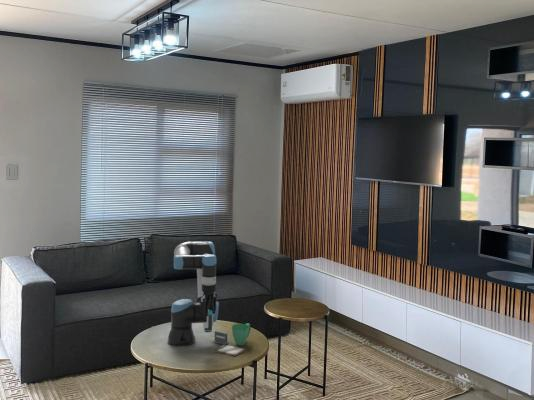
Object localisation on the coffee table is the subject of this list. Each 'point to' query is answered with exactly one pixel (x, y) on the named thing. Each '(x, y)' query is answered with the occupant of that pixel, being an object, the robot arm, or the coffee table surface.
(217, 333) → the gray bookend
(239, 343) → the mug
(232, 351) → the clipboard
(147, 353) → the coffee table surface
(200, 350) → the coffee table surface
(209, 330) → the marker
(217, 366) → the coffee table surface
